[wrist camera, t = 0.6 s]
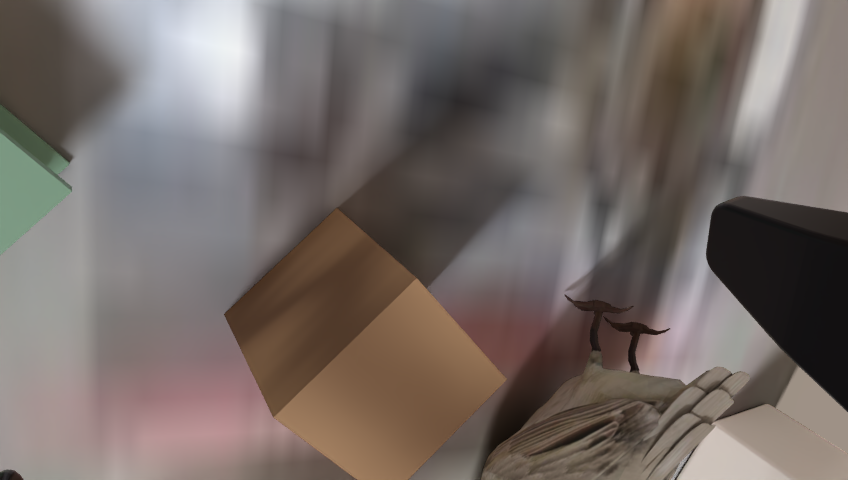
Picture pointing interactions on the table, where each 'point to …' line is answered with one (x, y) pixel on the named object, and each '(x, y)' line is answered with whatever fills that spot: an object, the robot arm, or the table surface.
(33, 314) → the table surface
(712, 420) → the decorative bird
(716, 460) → the jar
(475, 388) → the walnut block
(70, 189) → the green book
